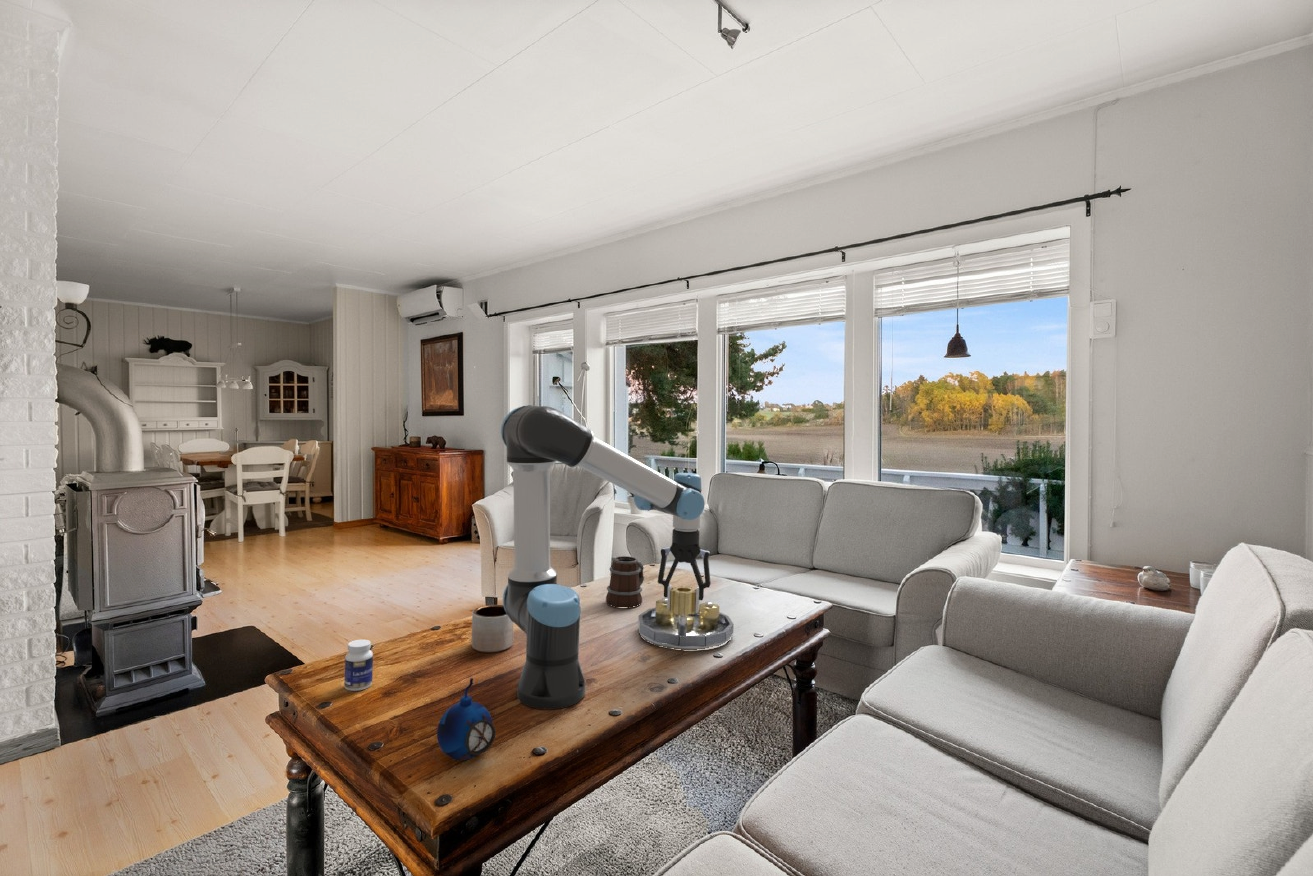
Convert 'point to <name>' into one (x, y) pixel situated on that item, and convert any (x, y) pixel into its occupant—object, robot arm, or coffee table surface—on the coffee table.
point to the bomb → (465, 729)
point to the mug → (625, 582)
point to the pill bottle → (358, 665)
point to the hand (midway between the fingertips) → (683, 610)
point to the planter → (491, 629)
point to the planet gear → (683, 600)
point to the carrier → (685, 627)
